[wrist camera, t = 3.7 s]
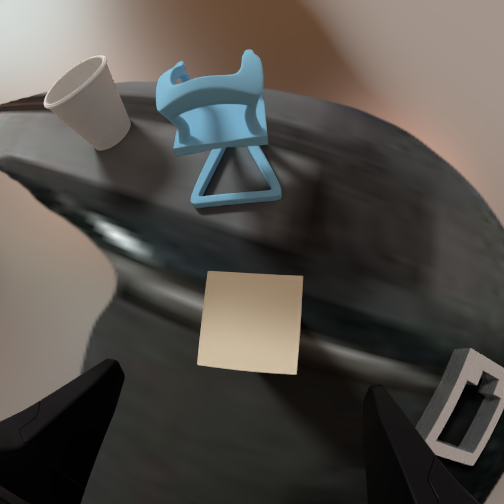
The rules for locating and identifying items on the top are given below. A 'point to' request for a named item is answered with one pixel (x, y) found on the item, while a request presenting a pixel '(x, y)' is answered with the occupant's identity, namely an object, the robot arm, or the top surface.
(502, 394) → the socket plate
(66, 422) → the robot arm
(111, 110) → the dixie cup
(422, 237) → the top surface
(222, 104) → the chair
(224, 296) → the keyed post
